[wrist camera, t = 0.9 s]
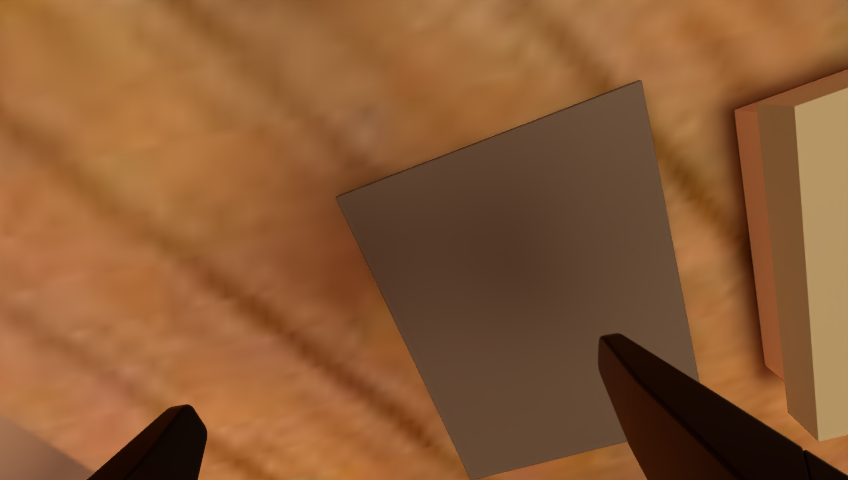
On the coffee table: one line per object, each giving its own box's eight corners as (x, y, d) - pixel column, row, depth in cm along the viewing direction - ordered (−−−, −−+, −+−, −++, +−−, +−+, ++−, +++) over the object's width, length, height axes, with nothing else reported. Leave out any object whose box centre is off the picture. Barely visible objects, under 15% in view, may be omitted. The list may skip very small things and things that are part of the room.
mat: (704, 417, 27) (706, 421, 27) (470, 476, 30) (470, 480, 29) (638, 80, 20) (641, 80, 20) (337, 196, 22) (335, 197, 22)
